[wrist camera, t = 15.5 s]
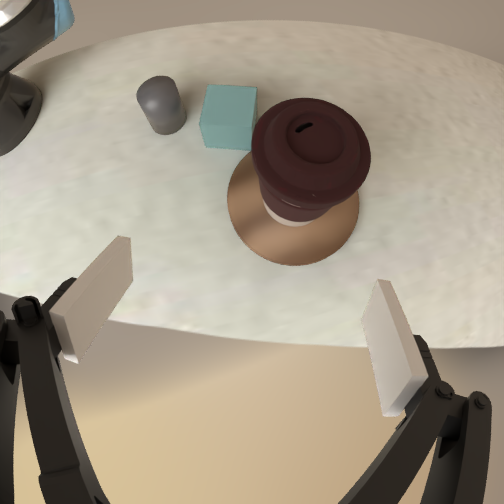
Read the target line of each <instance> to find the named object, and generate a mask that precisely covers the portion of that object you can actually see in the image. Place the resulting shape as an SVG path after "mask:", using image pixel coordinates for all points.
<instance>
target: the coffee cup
mask: <svg viewBox="0 0 504 504" xmlns="http://www.w3.org/2000/svg"><path fill="white" fill-rule="evenodd" d="M251 156H252V162H253V166H254V169H255V171H256V173H257V175H258V178H259V186H260V192H261V195H262V198H263V202H264V205H265V208H266V210H267V211H268V213H269V214H270V215H271V217H272V218H273V219H275V220H276V221H278V222H279V223H281V224H283V225H287V226H292V227H298V226H304V225H307V224H309V223H311V222H312V221H314V220H315V219H317V218H319V217H321V216H322V215H323V214H325V213H326V212H327V211H328V210H329V209H331V208H332V207H333V206H335V205H338V204H340V203H342V202H344V201H345V200H347V199H348V198H350V197H351V196H352V195H353V194H354V193H355V192H356V191H357V190H358V189H359V187H360V186H361V185H362V183H363V182H364V181H365V179H366V177H367V174H368V172H369V168H370V163H371V153H370V147H369V143H368V140H367V138H366V135H365V133H364V131H363V130H362V128H361V126H360V125H359V124H358V122H357V121H356V120H355V119H354V118H353V117H352V116H351V115H349V114H348V113H347V112H346V111H344V110H343V109H341V108H340V107H338V106H336V105H334V104H332V103H329V102H327V101H324V100H320V99H314V98H295V99H290V100H286V101H283V102H281V103H278V104H276V105H275V106H273V107H271V108H270V109H269V110H268V111H266V112H265V113H264V114H263V115H262V117H261V118H260V119H259V121H258V122H257V124H256V126H255V128H254V131H253V134H252V140H251Z"/></svg>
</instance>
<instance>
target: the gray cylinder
mask: <svg viewBox="0 0 504 504" xmlns="http://www.w3.org/2000/svg"><path fill="white" fill-rule="evenodd" d="M137 100H138V102H139V104H140V106H141V108H142V110H143V111H144V113H145V115H146V117H147V119H148V121H149V122H150V124H151V126H152V128H153V130H154V131H155V132H157V133H158V134H162V135H169V134H173V133H175V132H177V131H178V130H179V129H181V128H182V126H183V125H184V123H185V121H186V113H185V111H184V108H183V105H182V102H181V99H180V96H179V93H178V90H177V87H176V84H175V82H174V80H173V79H171V78H170V77H167V76H156V77H152V78H150V79H148V80H147V81H145V82H144V83H143V84H142V85H141V86H140V87H139V89H138V91H137Z"/></svg>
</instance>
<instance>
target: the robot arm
mask: <svg viewBox="0 0 504 504" xmlns="http://www.w3.org/2000/svg"><path fill="white" fill-rule="evenodd" d="M73 23H74V14H73V11H72V8H71V5H70V3H69V0H0V156H2V155H4V154H6V153H8V152H9V151H11V150H12V149H13V148H15V147H16V146H17V145H18V144H19V143H20V142H21V141H22V140H23V139H24V137H25V136H26V135H27V133H28V132H29V131H30V129H31V128H32V126H33V124H34V122H35V121H36V118H37V116H38V114H39V111H40V108H41V103H42V96H41V92H40V90H39V89H38V88H37V87H36V86H35V85H34V84H33V83H32V82H31V81H29V80H26V79H24V78H21V77H19V76H16V75H13V74H11V73H10V72H9V71H11V70H12V69H13V68H14V67H16V66H17V65H18V64H19V63H21V62H22V61H24V60H25V59H27V58H28V57H29V56H31V55H32V54H34V53H35V52H37V51H38V50H39V49H41V48H42V47H44V46H45V45H47V44H49V43H50V42H52V41H54V40H55V39H56V38H57V37H58V36H60V35H61V34H62V33H64V32H65V31H67V30H68V29H70V27H71V26H72V25H73ZM132 282H133V272H132V258H131V239H130V238H128V237H122V236H117V237H116V238H115V239H114V240H113V241H112V242H111V243H110V244H109V245H108V246H107V247H106V248H105V250H104V251H103V252H102V253H101V254H100V255H99V256H98V257H97V258H96V259H95V260H94V261H93V262H92V263H91V264H90V265H89V266H88V268H87V269H86V270H85V271H84V272H83V273H82V274H81V275H80V276H79V277H78V278H73V277H71V278H70V279H68V280H66V281H64V282H63V283H62V284H61V285H60V286H59V287H58V288H57V290H56V291H55V292H54V293H53V295H51V296H50V297H49V298H48V299H47V301H46V302H45V303H44V304H43V305H42V306H40V303H39V300H38V299H37V298H36V297H33V296H24V297H22V298H19V299H18V300H16V301H15V302H14V304H13V305H12V312H13V314H14V317H15V320H8V319H6V318H5V315H4V313H3V312H2V311H0V504H14V478H13V451H14V428H15V414H16V404H17V394H18V386H19V379H20V372H21V377H22V384H23V392H24V398H25V404H26V410H27V416H28V421H29V425H30V430H31V435H32V439H33V444H34V448H35V452H36V455H37V459H38V463H39V466H40V470H41V474H40V475H39V484H40V488H41V491H42V494H43V497H44V500H45V503H46V504H110V502H109V501H108V499H107V498H106V496H105V494H104V492H103V490H102V488H101V486H100V484H99V482H98V479H97V477H96V475H95V472H94V470H93V467H92V465H91V463H90V460H89V457H88V455H87V452H86V449H85V447H84V444H83V441H82V438H81V436H80V433H79V430H78V427H77V424H76V420H75V417H74V414H73V411H72V407H71V404H70V401H69V397H68V393H67V390H66V386H65V382H64V378H63V374H62V370H61V365H60V361H59V358H58V354H59V353H60V351H61V350H62V352H63V355H64V358H65V359H67V360H70V361H73V362H75V363H80V361H81V359H82V358H83V356H84V355H85V353H86V351H87V350H88V348H89V347H90V345H91V343H92V342H93V340H94V338H95V337H96V335H97V334H98V332H99V331H100V329H101V327H102V326H103V325H104V323H105V322H106V320H107V319H108V317H109V316H110V314H111V313H112V311H113V310H114V308H115V307H116V305H117V304H118V302H119V301H120V299H121V298H122V296H123V295H124V293H125V292H126V290H127V289H128V288H129V286H130V285H131V283H132ZM361 321H362V325H363V329H364V333H365V337H366V341H367V345H368V349H369V353H370V357H371V361H372V366H373V371H374V375H375V380H376V384H377V389H378V394H379V399H380V404H381V409H382V414H383V416H399V414H400V413H401V412H402V411H403V410H404V409H405V413H406V417H405V418H404V419H403V420H402V421H401V422H400V424H399V425H398V426H397V427H396V431H395V432H394V434H393V435H392V436H391V438H390V439H389V441H388V442H387V444H386V445H385V446H384V448H383V449H382V450H381V452H380V453H379V454H378V456H377V457H376V458H375V460H374V461H373V462H372V464H371V465H370V466H369V467H368V469H367V470H366V471H365V472H364V474H363V475H362V476H361V477H360V479H359V480H358V481H357V482H356V483H355V485H354V486H353V487H352V488H351V489H350V490H349V492H348V493H347V494H346V495H345V496H344V497H343V499H342V500H341V501H340V502H339V503H338V504H398V502H399V501H400V499H401V498H402V496H403V495H404V493H405V492H406V490H407V489H408V487H409V485H410V484H411V482H412V481H413V479H414V478H415V476H416V474H417V472H418V471H419V469H420V467H421V466H422V464H423V462H424V460H425V459H426V457H427V455H428V453H429V451H430V449H431V448H432V446H433V444H434V442H435V440H436V438H437V442H436V447H435V452H434V456H433V460H432V464H431V468H430V472H429V476H428V479H427V483H426V486H425V490H424V493H423V496H422V500H421V503H420V504H483V498H484V492H485V486H486V480H487V471H488V462H489V452H490V440H491V416H492V415H491V414H492V406H491V401H490V400H489V398H488V397H487V396H486V395H485V394H483V393H482V392H478V391H475V392H473V393H472V394H471V395H470V396H469V397H468V398H467V397H463V396H460V395H456V394H455V392H454V390H453V388H452V387H451V386H450V385H449V384H448V383H446V382H444V381H441V378H440V376H439V373H438V370H437V368H436V365H435V363H434V360H433V359H432V355H431V353H430V350H429V348H428V345H427V343H426V342H425V341H424V339H423V338H422V337H421V336H420V335H413V334H412V331H411V329H410V326H409V324H408V321H407V319H406V317H405V314H404V312H403V310H402V307H401V305H400V303H399V300H398V298H397V296H396V293H395V291H394V289H393V287H392V284H391V282H390V281H386V280H380V279H377V281H376V284H375V286H374V289H373V291H372V294H371V296H370V299H369V301H368V304H367V306H366V309H365V311H364V313H363V316H362V318H361ZM437 436H438V437H437Z"/></svg>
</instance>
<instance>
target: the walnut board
mask: <svg viewBox="0 0 504 504" xmlns="http://www.w3.org/2000/svg"><path fill="white" fill-rule="evenodd" d="M227 203H228V210H229V214H230V218H231V221H232V224H233V226H234V229H235V230H236V232H237V234H238V236H239V237H240V238H241V239H242V241H243V242H244V243H245V244H246V245H247V246H248V247H249V248H250V249H251V250H252V251H254V252H255V253H256V254H258V255H259V256H261V257H263V258H265V259H267V260H269V261H272V262H275V263H278V264H282V265H290V266H301V265H308V264H312V263H316V262H318V261H321V260H323V259H325V258H327V257H328V256H330V255H332V254H333V253H335V252H336V251H337V250H338V249H340V248H341V247H342V246H343V245H344V243H345V242H346V241H347V240H348V238H349V237H350V235H351V234H352V232H353V230H354V228H355V225H356V222H357V218H358V213H359V196H358V191H356V192H355V193H354V194H353V195H352V196H351V197H350V198H348V199H347V200H345V201H344V202H342V203H340V204H338V205H335V206H333V207H332V208H331V209H329V210H328V211H327V212H326V213H325V214H323V215H322V216H321V217H319V218H317V219H315V220H314V221H312V222H311V223H309V224H307V225H304V226H298V227H292V226H287V225H283V224H281V223H279V222H278V221H276V220H275V219H273V218H272V217H271V215H270V214H269V213H268V211H267V210H266V208H265V205H264V202H263V198H262V195H261V192H260V186H259V178H258V175H257V173H256V171H255V169H254V166H253V162H252V156H251V152H249V153H248V154H247V155H246V156H245V157H244V158H243V159H242V160H241V161H240V163H239V164H238V165H237V167H236V168H235V170H234V172H233V174H232V176H231V180H230V183H229V187H228V194H227Z"/></svg>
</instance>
